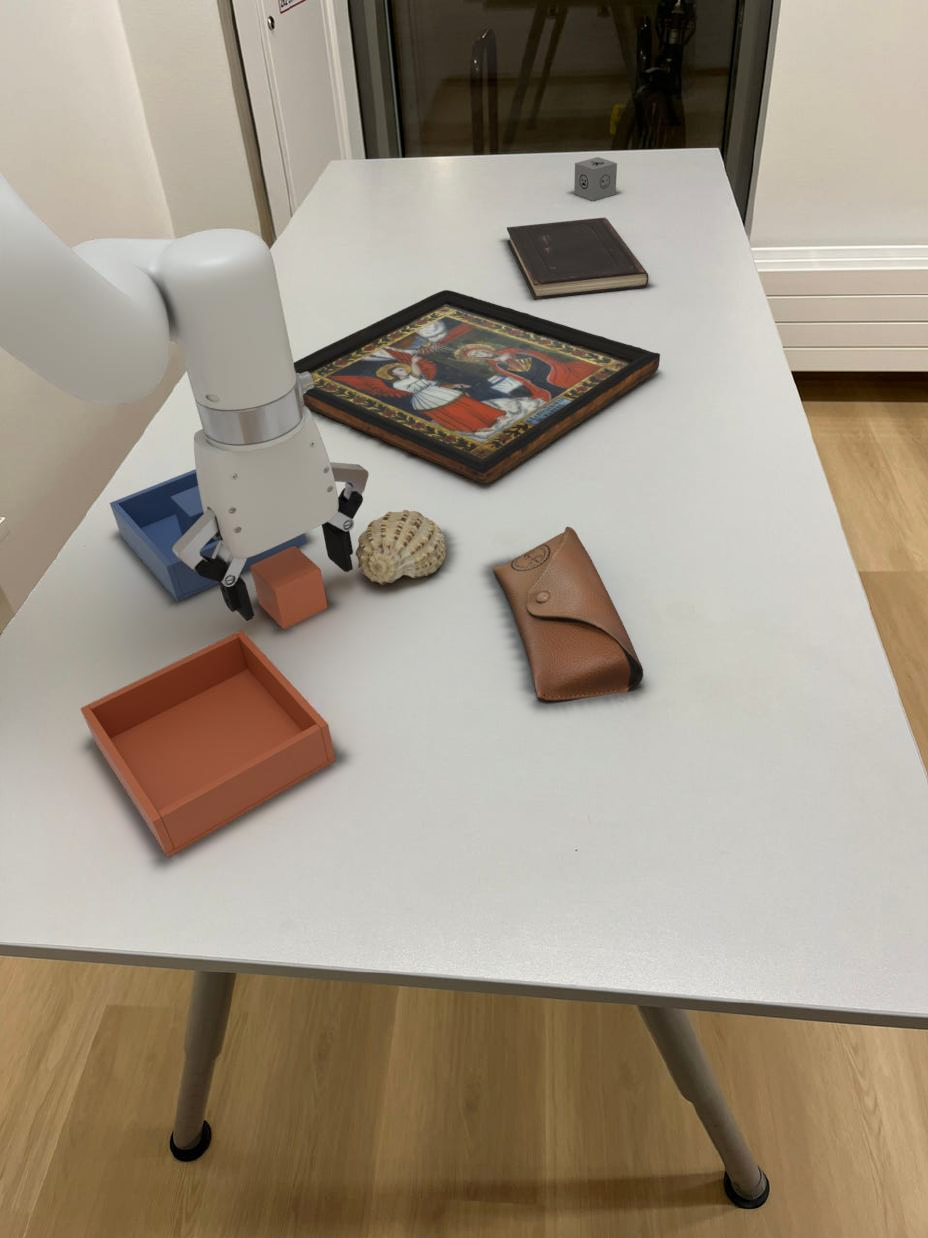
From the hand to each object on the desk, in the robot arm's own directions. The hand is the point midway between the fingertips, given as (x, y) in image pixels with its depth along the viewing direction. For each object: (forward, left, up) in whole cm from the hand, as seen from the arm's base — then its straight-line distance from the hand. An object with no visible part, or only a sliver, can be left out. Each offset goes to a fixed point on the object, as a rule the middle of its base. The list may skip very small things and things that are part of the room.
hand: (293, 587), depth 82 cm
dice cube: (+95, +63, -2) cm, 114 cm away
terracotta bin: (-13, -11, -2) cm, 17 cm away
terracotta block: (0, 0, -2) cm, 2 cm away
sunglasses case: (+16, -17, -2) cm, 23 cm away
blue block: (-1, +14, -2) cm, 14 cm away
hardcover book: (+71, +42, -2) cm, 82 cm away
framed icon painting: (+36, +23, -2) cm, 43 cm away
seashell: (+11, -1, -2) cm, 11 cm away
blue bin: (-1, +14, -2) cm, 14 cm away
